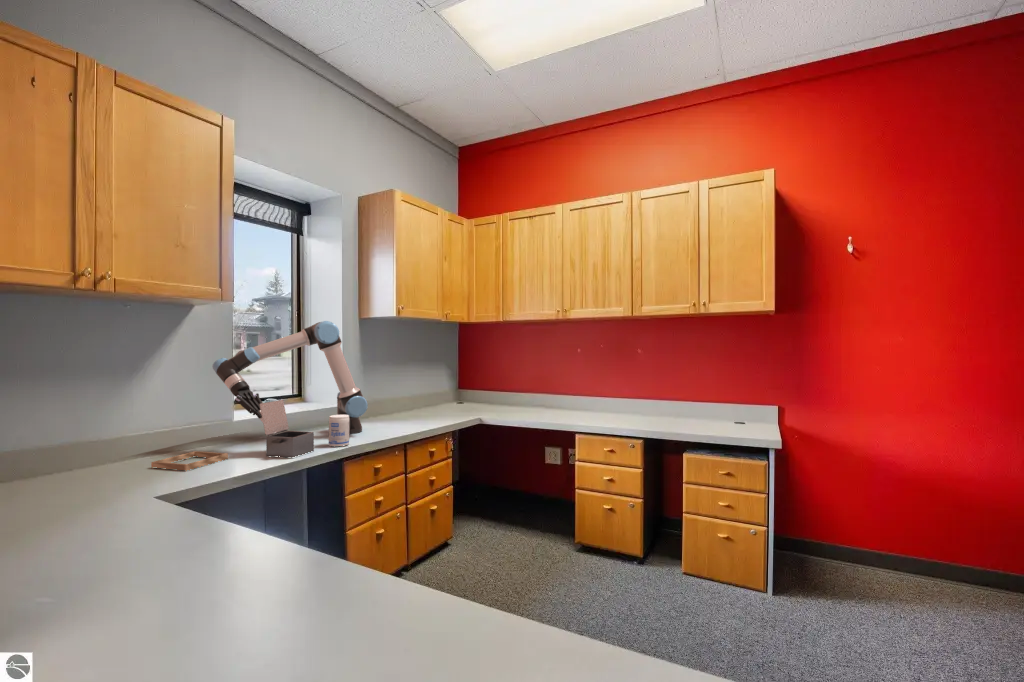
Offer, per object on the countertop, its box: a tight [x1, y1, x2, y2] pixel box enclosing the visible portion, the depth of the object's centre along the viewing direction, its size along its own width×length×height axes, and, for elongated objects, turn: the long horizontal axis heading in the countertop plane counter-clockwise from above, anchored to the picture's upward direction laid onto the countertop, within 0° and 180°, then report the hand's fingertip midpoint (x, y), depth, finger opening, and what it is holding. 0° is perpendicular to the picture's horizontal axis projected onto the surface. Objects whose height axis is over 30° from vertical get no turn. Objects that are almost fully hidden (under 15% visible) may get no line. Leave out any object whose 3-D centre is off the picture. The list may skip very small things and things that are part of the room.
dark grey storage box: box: [265, 430, 315, 458], centre depth 220 cm, size 19×14×9 cm
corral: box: [150, 450, 229, 472], centre depth 203 cm, size 20×18×2 cm
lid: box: [260, 399, 290, 436], centre depth 222 cm, size 14×15×2 cm
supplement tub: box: [328, 414, 350, 448], centre depth 238 cm, size 10×10×15 cm
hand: (267, 422), depth 223 cm, fingers closed
